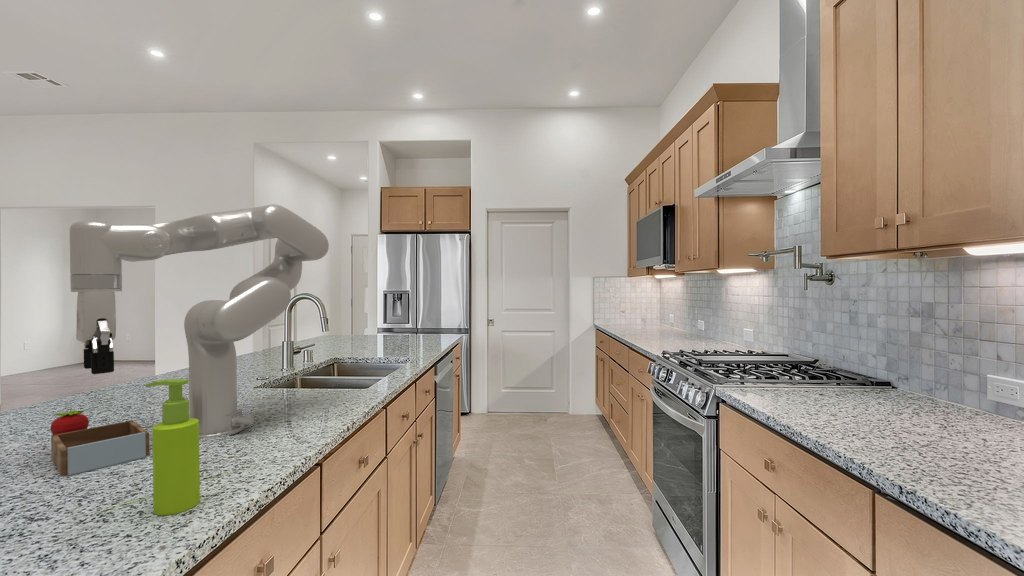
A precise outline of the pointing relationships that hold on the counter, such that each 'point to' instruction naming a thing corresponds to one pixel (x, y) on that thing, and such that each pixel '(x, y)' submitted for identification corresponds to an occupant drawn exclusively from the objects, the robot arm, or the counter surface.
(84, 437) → the crate
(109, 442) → the panel
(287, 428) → the counter surface
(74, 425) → the strawberry
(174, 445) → the soap dispenser
